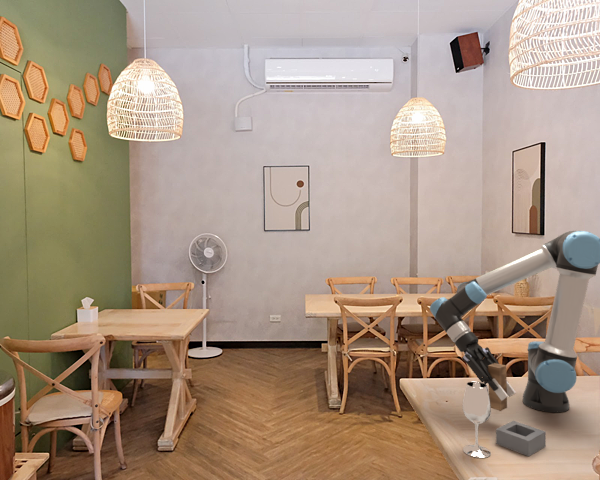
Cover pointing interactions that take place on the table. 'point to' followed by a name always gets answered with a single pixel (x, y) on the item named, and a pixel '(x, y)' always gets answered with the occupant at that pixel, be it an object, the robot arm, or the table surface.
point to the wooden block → (500, 376)
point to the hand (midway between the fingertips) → (508, 396)
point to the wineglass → (476, 414)
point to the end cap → (521, 438)
